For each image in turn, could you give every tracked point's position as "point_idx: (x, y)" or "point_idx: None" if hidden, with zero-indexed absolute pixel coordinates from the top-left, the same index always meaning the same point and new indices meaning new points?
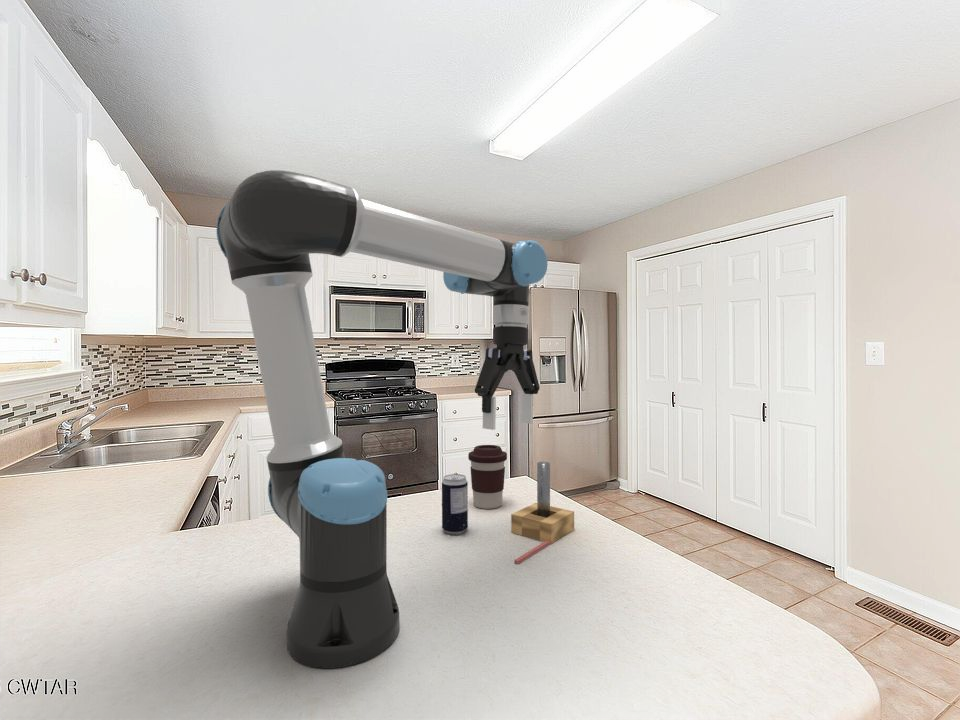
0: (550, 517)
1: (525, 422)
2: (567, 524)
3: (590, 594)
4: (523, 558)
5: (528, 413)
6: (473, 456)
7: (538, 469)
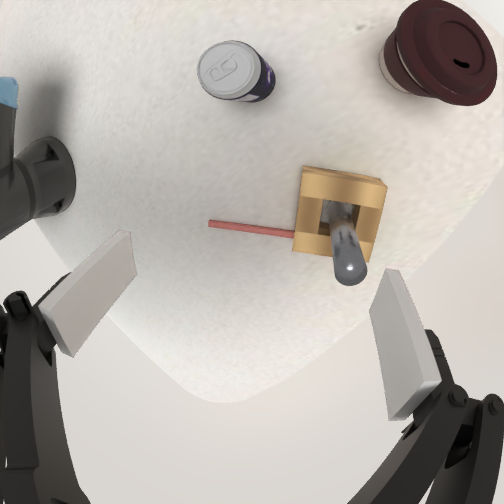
0: (322, 239)
1: (377, 292)
2: None
3: (202, 304)
4: (221, 227)
5: (379, 332)
6: (401, 22)
7: (336, 256)
